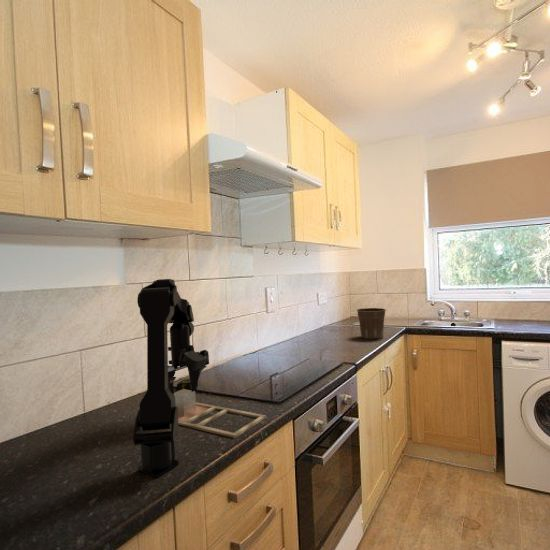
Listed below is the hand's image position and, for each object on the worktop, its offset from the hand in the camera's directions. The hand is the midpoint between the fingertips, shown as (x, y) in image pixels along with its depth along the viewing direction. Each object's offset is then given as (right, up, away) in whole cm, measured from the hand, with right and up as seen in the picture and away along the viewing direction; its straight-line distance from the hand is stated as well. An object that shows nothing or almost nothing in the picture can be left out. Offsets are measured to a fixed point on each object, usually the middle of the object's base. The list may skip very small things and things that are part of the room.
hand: (183, 394), depth 115 cm
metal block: (0, -6, 0) cm, 6 cm away
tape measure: (-4, -6, +22) cm, 23 cm away
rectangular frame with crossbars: (+8, -5, -5) cm, 11 cm away
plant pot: (+84, 0, +101) cm, 131 cm away
